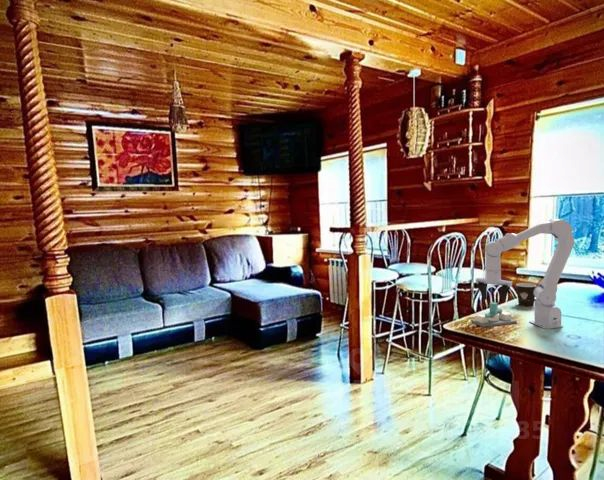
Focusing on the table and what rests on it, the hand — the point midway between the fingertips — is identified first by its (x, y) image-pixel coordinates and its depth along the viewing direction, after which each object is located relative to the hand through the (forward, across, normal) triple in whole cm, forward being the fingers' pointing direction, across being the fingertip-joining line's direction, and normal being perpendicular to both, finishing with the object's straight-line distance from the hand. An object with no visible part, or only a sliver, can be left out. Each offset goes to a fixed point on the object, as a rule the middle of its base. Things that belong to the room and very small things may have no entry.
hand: (493, 301), depth 170 cm
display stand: (+9, 0, 0) cm, 9 cm away
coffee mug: (+10, -2, -35) cm, 37 cm away
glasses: (+6, 0, 0) cm, 6 cm away
